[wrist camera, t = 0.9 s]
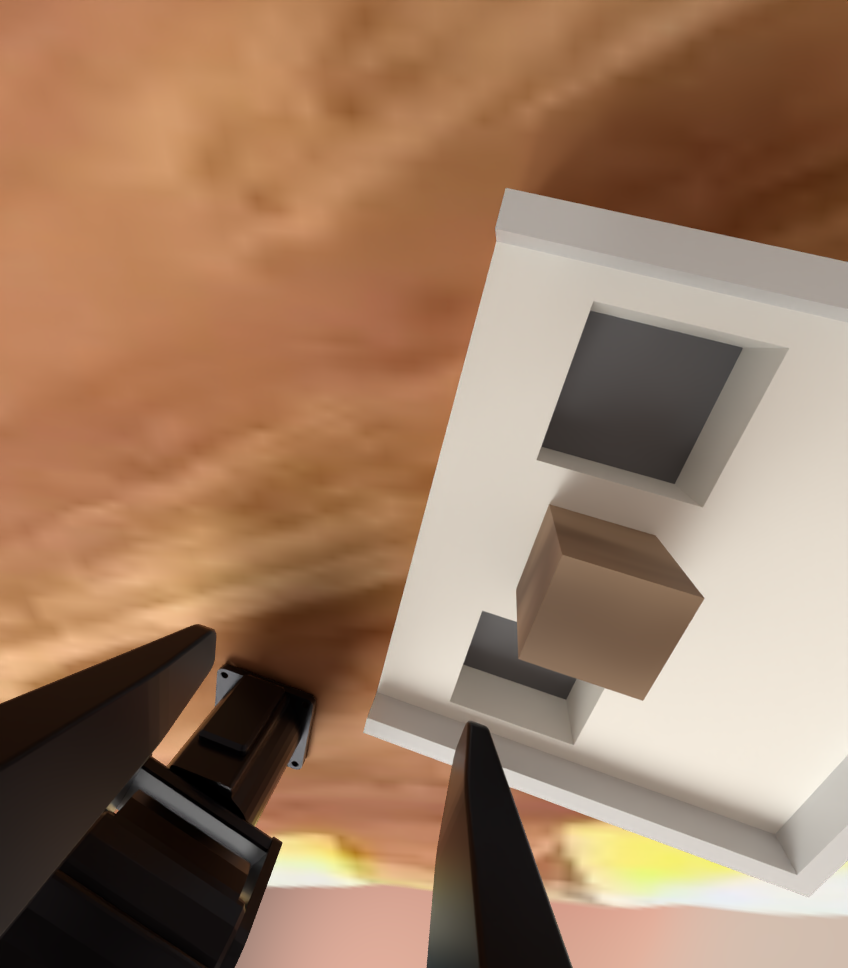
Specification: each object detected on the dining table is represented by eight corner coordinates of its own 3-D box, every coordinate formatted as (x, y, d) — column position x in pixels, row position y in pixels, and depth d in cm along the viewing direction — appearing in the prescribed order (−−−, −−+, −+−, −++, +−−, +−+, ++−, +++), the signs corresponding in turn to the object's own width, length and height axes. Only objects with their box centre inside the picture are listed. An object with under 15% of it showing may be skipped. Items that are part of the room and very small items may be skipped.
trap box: (749, 788, 21) (808, 897, 17) (389, 662, 23) (363, 732, 19) (1096, 365, 13) (1364, 374, 9) (506, 230, 15) (505, 187, 11)
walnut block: (612, 620, 16) (643, 701, 13) (516, 589, 17) (518, 659, 13) (655, 535, 15) (705, 598, 11) (549, 504, 15) (562, 554, 12)
